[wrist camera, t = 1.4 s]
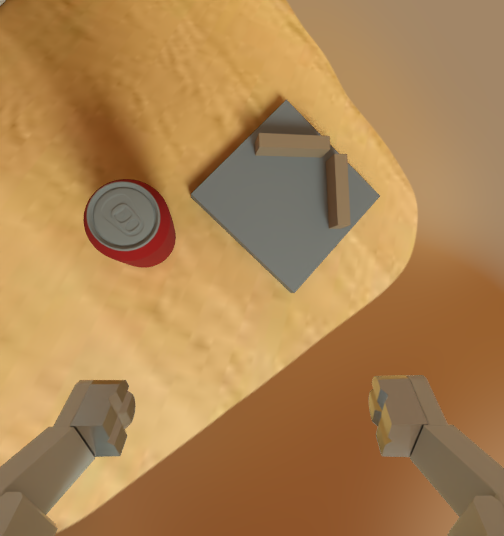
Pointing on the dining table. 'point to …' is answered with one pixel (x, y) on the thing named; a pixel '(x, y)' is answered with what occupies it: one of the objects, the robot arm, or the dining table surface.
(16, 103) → the dining table surface
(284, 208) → the v stop plate
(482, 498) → the robot arm
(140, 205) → the beverage can
